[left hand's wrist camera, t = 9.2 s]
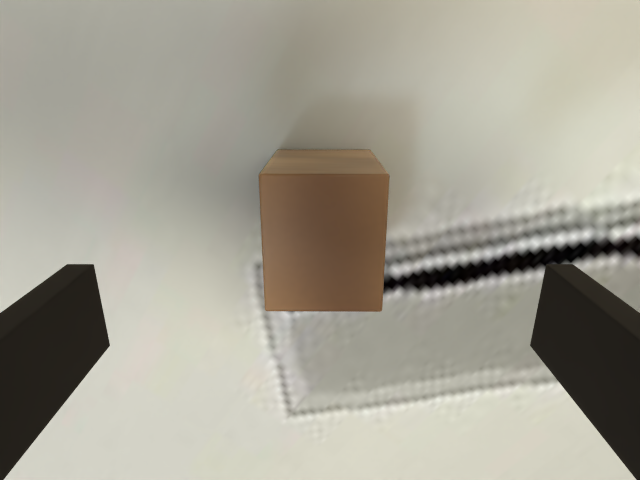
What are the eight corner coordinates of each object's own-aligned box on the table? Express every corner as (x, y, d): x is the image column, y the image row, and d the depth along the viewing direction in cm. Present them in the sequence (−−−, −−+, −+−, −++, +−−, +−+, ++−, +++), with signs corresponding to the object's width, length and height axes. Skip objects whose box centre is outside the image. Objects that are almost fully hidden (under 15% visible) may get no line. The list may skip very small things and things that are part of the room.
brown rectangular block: (280, 252, 26) (264, 311, 19) (276, 149, 24) (258, 173, 17) (366, 253, 26) (382, 312, 19) (370, 149, 24) (389, 174, 17)
